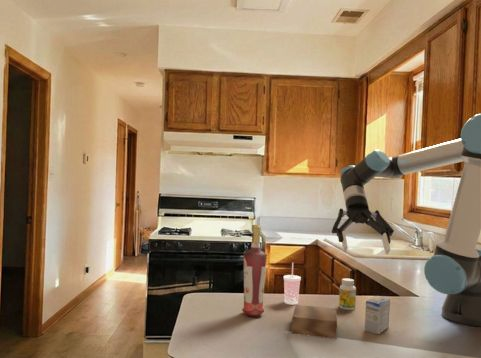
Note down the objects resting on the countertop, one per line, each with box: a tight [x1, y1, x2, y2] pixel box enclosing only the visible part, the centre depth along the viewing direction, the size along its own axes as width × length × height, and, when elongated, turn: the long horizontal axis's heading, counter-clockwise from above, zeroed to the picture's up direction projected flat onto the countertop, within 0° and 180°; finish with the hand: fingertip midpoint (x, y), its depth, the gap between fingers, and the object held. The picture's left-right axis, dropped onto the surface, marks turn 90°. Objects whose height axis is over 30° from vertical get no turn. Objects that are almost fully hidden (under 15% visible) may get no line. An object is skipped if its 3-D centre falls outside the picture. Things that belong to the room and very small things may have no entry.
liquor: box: [241, 224, 268, 318], centre depth 127 cm, size 7×7×28 cm
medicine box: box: [364, 295, 391, 335], centre depth 119 cm, size 8×4×9 cm, turn 141°
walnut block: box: [291, 304, 338, 340], centre depth 117 cm, size 12×12×5 cm
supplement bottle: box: [338, 277, 357, 311], centre depth 139 cm, size 5×5×10 cm
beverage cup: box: [283, 262, 302, 306], centre depth 142 cm, size 6×6×14 cm
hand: (366, 250), depth 130 cm, fingers open, 13 cm apart
